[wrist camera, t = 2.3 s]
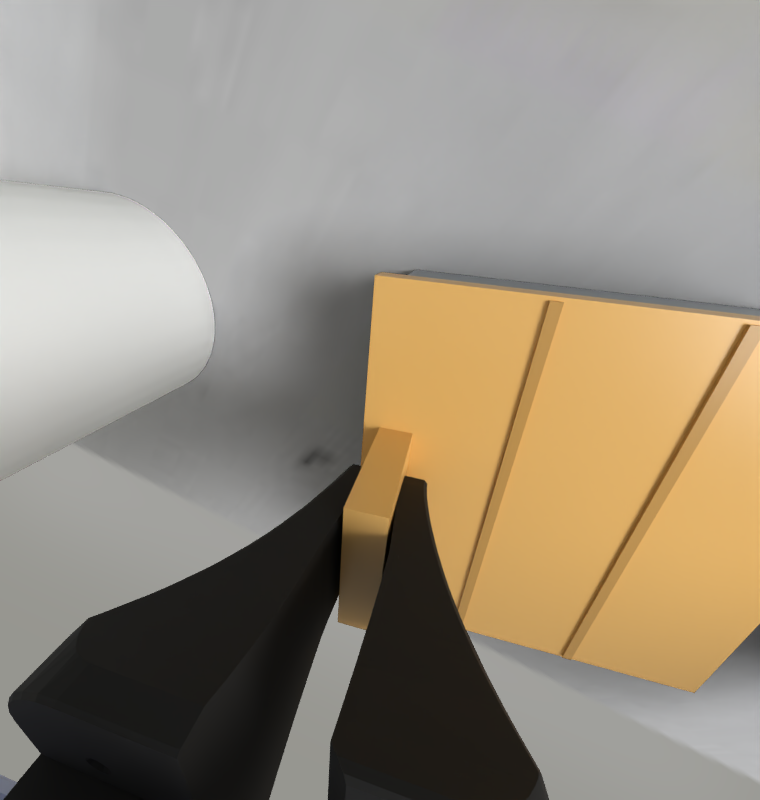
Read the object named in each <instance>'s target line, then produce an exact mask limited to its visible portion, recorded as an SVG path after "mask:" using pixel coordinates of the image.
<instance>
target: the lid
mask: <svg viewBox="0 0 760 800" xmlns="http://www.w3.org/2000/svg"><path fill="white" fill-rule="evenodd" d="M361 466H362V468H361V470H360V472H359V475H358V477H357V479H356V481H355V484H354V486H353V488H352V490H351V492H350V495H349V497H348V499H347V501H346V504H345V506H344V509H343V529H342V549H341V569H340V589H339V609H338V622H339V623H343V624H346V625H350V626H353V627H357V628H360V629H364V630H367V627H368V624H369V620H370V617H371V614H372V610H373V607H374V604H375V600H376V597H377V593H378V590H379V587H380V583H381V580H382V576H383V573H384V569H385V566H386V562H387V559H388V554H389V550H390V545H391V538H392V532H393V525H394V518H395V512H396V505H397V499H398V496H399V492H400V489H401V486H402V482H403V479H404V476H409V477H414V478H418V479H423V480H425V481H426V483H427V501H428V509H429V516H430V521H431V526H432V530H433V535H434V539H435V543H436V547H437V551H438V554H439V558H440V561H441V564H442V568H443V571H444V574H445V577H446V580H447V583H448V586H449V589H450V591H451V594H452V597H453V599H454V602H455V605H456V607H457V609H458V612H459V614H460V617H461V619H462V622H463V624H464V626H465V629H466V630H468V631H471V632H475V633H478V634H482V635H486V636H489V637H493V638H497V639H500V640H504V641H508V642H511V643H515V644H518V645H522V646H526V647H529V648H533V649H537V650H540V651H544V652H548V653H551V654H555V655H558V656H562V658H566V659H569V660H571V659H573V660H577V661H580V662H584V663H587V664H591V665H595V666H598V667H602V668H606V669H609V670H613V671H617V672H620V673H624V674H627V675H631V676H635V677H638V678H642V679H646V680H649V681H653V682H657V683H660V684H664V685H667V686H671V687H675V688H678V689H682V690H686V691H689V692H693V693H695V692H696V691H697V689H698V688H699V687H700V686H701V685H702V684H703V683H704V682H705V681H706V680H707V679H708V678H709V677H710V676H711V675H712V674H713V673H714V671H715V670H716V669H717V668H718V667H719V666H720V665H721V664H722V663H723V662H724V661H725V660H726V659H727V658H728V657H729V656H730V655H731V654H732V652H733V651H734V650H735V649H736V648H737V647H738V646H739V645H740V644H741V643H742V642H743V641H744V640H745V639H746V638H747V637H748V636H749V635H750V633H751V632H752V631H753V630H754V629H755V628H756V627H757V626H758V625H759V624H760V316H754V315H745V314H737V313H728V312H720V311H711V310H703V309H694V308H685V307H677V306H668V305H660V304H651V303H642V302H634V301H625V300H617V299H608V298H600V297H591V296H582V295H574V294H565V293H557V292H548V291H540V290H531V289H522V288H514V287H505V286H497V285H488V284H479V283H471V282H462V281H454V280H445V279H437V278H428V277H419V276H411V275H402V274H394V273H385V272H381V273H379V274H376V275H375V280H374V293H373V307H372V320H371V334H370V347H369V361H368V374H367V388H366V401H365V415H364V428H363V442H362V455H361Z"/></svg>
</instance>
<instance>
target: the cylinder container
mask: <svg viewBox="0 0 760 800" xmlns="http://www.w3.org/2000/svg"><path fill="white" fill-rule="evenodd" d="M214 336H215V320H214V312H213V306H212V301H211V297H210V294H209V291H208V288H207V285H206V282H205V280H204V277H203V275H202V273H201V271H200V269H199V267H198V265H197V263H196V261H195V260H194V258H193V256H192V255H191V253H190V252H189V250H188V249H187V247H186V246H185V245H184V243H183V242H182V241H181V239H180V238H179V237H178V236H177V235H176V234H175V232H174V231H173V230H172V229H171V228H170V227H169V226H168V225H167V224H166V223H165V222H164V221H163V220H162V219H160V218H159V217H158V216H157V215H155V214H154V213H153V212H152V211H150V210H149V209H147V208H146V207H144V206H143V205H141V204H139V203H137V202H135V201H133V200H131V199H129V198H127V197H124V196H121V195H117V194H114V193H109V192H100V191H92V190H83V189H74V188H66V187H57V186H48V185H40V184H31V183H23V182H14V181H5V180H0V481H1V480H3V479H5V478H7V477H9V476H11V475H13V474H14V473H16V472H18V471H20V470H22V469H24V468H26V467H28V466H30V465H32V464H33V463H36V462H38V461H39V460H41V459H43V458H45V457H47V456H49V455H51V454H53V453H55V452H57V451H59V450H60V449H62V448H64V447H66V446H68V445H70V444H72V443H74V442H76V441H78V440H80V439H82V438H83V437H85V436H87V435H89V434H91V433H93V432H95V431H97V430H99V429H101V428H103V427H105V426H106V425H108V424H110V423H112V422H114V421H116V420H118V419H120V418H122V417H124V416H126V415H127V414H129V413H131V412H133V411H135V410H137V409H139V408H141V407H143V406H145V405H147V404H149V403H150V402H152V401H154V400H156V399H158V398H160V397H162V396H164V395H166V394H168V393H170V392H172V391H173V390H175V389H177V388H179V387H181V386H183V385H185V384H187V383H188V382H190V381H192V380H193V379H194V378H196V377H197V376H198V375H199V374H200V372H201V371H202V370H203V369H204V367H205V366H206V364H207V362H208V360H209V358H210V355H211V352H212V348H213V343H214Z"/></svg>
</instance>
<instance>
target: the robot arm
mask: <svg viewBox="0 0 760 800" xmlns="http://www.w3.org/2000/svg"><path fill="white" fill-rule="evenodd" d="M361 468H362V466H359V465H354V464H353V465H352V466H350V467H349V468H348V469H347V470H346V471H345V472H344V473H343V474H342V475H340V476H339V477H338V478H337V479H336V480H335V481H334V482H333V483H332V484H331V485H329V486H328V487H327V488H326V489H325V490H324V491H323V492H321V493H320V494H319V495H318V496H317V497H315V498H314V499H313V500H312V501H311V502H309V503H308V504H307V505H306V506H304V507H303V508H302V509H300V510H299V511H298V512H296V513H295V514H294V515H292V516H291V517H290V518H288V519H287V520H286V521H284V522H283V523H282V524H280V525H279V526H277V527H276V528H274V529H273V530H271V531H270V532H268V533H267V534H265V535H264V536H262V537H261V538H259V539H258V540H256V541H254V542H253V543H251V544H250V545H248V546H246V547H244V548H243V549H241V550H239V551H237V552H236V553H234V554H232V555H230V556H229V557H227V558H225V559H223V560H222V561H220V562H218V563H216V564H214V565H212V566H210V567H208V568H206V569H204V570H202V571H200V572H198V573H196V574H194V575H192V576H190V577H187V578H185V579H183V580H181V581H179V582H177V583H175V584H173V585H170V586H168V587H166V588H164V589H161V590H159V591H157V592H154V593H152V594H150V595H147V596H145V597H142V598H140V599H137V600H135V601H132V602H129V603H127V604H124V605H122V606H119V607H117V608H114V609H112V610H109V611H106V612H104V613H101V614H98V615H96V616H93V617H90V618H88V619H87V620H86V621H85V622H84V623H83V624H82V625H81V626H80V627H79V628H78V629H76V630H75V631H74V632H73V633H72V634H71V635H70V636H69V637H68V638H67V639H66V640H65V641H64V642H63V643H62V644H61V645H60V646H59V647H58V648H57V649H56V650H55V651H54V652H53V653H52V654H51V655H50V656H49V657H48V658H47V659H46V660H45V661H44V662H43V663H42V664H41V665H40V666H39V667H38V668H37V669H36V670H35V671H34V672H33V673H32V674H31V675H30V676H29V677H28V678H27V679H26V680H25V681H24V682H23V683H22V684H21V685H20V686H19V687H18V688H17V689H16V690H15V691H14V692H13V693H12V695H11V696H10V697H9V702H8V708H9V713H10V714H11V716H12V717H13V719H14V720H15V722H16V723H17V724H18V725H19V727H20V728H21V729H22V730H23V732H24V733H25V734H26V735H27V737H28V738H29V739H30V740H31V742H32V743H33V744H34V745H35V747H36V748H37V749H38V750H39V752H40V753H41V754H40V756H39V757H38V758H37V759H36V761H35V762H34V763H33V764H32V765H31V767H30V768H29V769H28V770H27V771H26V773H25V774H24V775H23V776H22V777H21V779H20V780H19V781H18V782H15V781H13V780H11V779H9V778H7V777H5V776H2V775H0V800H269V798H270V795H271V791H272V788H273V785H274V781H275V778H276V775H277V771H278V768H279V765H280V762H281V759H282V756H283V753H284V749H285V746H286V743H287V740H288V737H289V733H290V730H291V727H292V724H293V721H294V718H295V714H296V711H297V708H298V705H299V702H300V699H301V696H302V693H303V690H304V687H305V684H306V681H307V678H308V675H309V672H310V669H311V666H312V663H313V660H314V657H315V654H316V651H317V648H318V645H319V642H320V639H321V636H322V634H323V631H324V629H325V626H326V623H327V621H328V618H329V616H330V614H331V612H332V609H333V607H334V605H335V602H336V600H337V597H338V596H339V589H340V569H341V549H342V529H343V509H344V506H345V504H346V501H347V499H348V497H349V495H350V492H351V490H352V488H353V486H354V484H355V481H356V479H357V477H358V475H359V472H360V470H361ZM328 800H549V798H548V794H547V791H546V788H545V784H544V781H543V778H542V775H541V772H540V770H539V768H538V767H537V765H536V763H535V761H534V760H533V758H532V756H531V754H530V753H529V751H528V749H527V748H526V746H525V744H524V742H523V741H522V739H521V737H520V736H519V734H518V732H517V730H516V728H515V726H514V725H513V723H512V721H511V720H510V717H509V716H508V714H507V712H506V710H505V708H504V707H503V705H502V703H501V701H500V699H499V697H498V695H497V693H496V691H495V689H494V687H493V685H492V683H491V682H490V680H489V678H488V676H487V674H486V672H485V670H484V667H483V665H482V663H481V661H480V659H479V657H478V655H477V652H476V650H475V648H474V646H473V644H472V642H471V640H470V637H469V635H468V633H467V631H466V629H465V626H464V624H463V622H462V619H461V617H460V614H459V612H458V609H457V607H456V605H455V602H454V599H453V597H452V594H451V591H450V589H449V586H448V583H447V580H446V577H445V574H444V571H443V568H442V564H441V561H440V558H439V554H438V551H437V547H436V543H435V539H434V535H433V530H432V526H431V521H430V516H429V509H428V501H427V483H426V481H425V480H423V479H418V478H414V477H409V476H404V479H403V482H402V486H401V489H400V492H399V496H398V499H397V505H396V512H395V518H394V525H393V532H392V538H391V545H390V550H389V554H388V559H387V562H386V566H385V569H384V573H383V576H382V580H381V583H380V587H379V590H378V593H377V597H376V600H375V604H374V607H373V610H372V614H371V617H370V620H369V624H368V627H367V630H366V633H365V636H364V640H363V643H362V646H361V649H360V652H359V656H358V659H357V662H356V666H355V668H354V672H353V675H352V678H351V681H350V684H349V687H348V690H347V693H346V696H345V700H344V702H343V705H342V708H341V711H340V715H339V718H338V721H337V724H336V727H335V730H334V733H333V736H332V739H331V743H330V764H329V787H328Z"/></svg>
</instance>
